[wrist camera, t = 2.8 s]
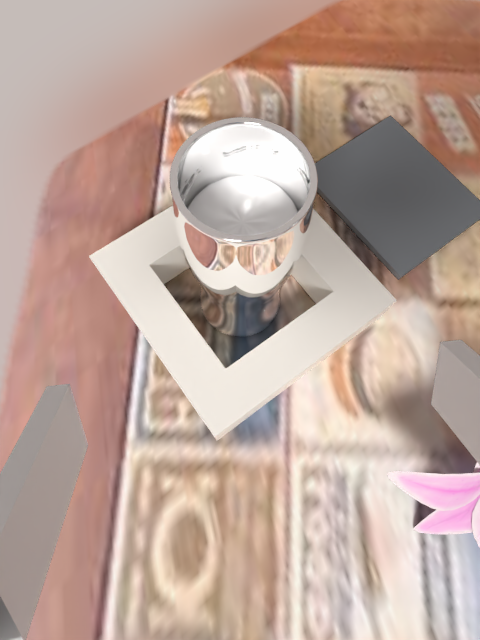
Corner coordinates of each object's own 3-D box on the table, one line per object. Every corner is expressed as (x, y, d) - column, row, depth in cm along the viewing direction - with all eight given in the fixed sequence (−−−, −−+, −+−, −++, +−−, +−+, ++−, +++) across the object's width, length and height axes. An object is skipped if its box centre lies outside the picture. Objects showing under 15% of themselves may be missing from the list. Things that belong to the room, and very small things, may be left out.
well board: (258, 183, 37) (261, 151, 33) (377, 319, 33) (396, 300, 29) (105, 279, 34) (88, 256, 30) (217, 440, 30) (214, 437, 26)
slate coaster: (388, 120, 39) (390, 115, 38) (486, 214, 36) (490, 210, 35) (301, 175, 37) (303, 171, 36) (398, 279, 34) (401, 276, 33)
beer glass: (188, 337, 32) (151, 236, 18) (201, 254, 34) (178, 105, 20) (281, 348, 32) (318, 254, 18) (288, 263, 34) (326, 120, 20)
